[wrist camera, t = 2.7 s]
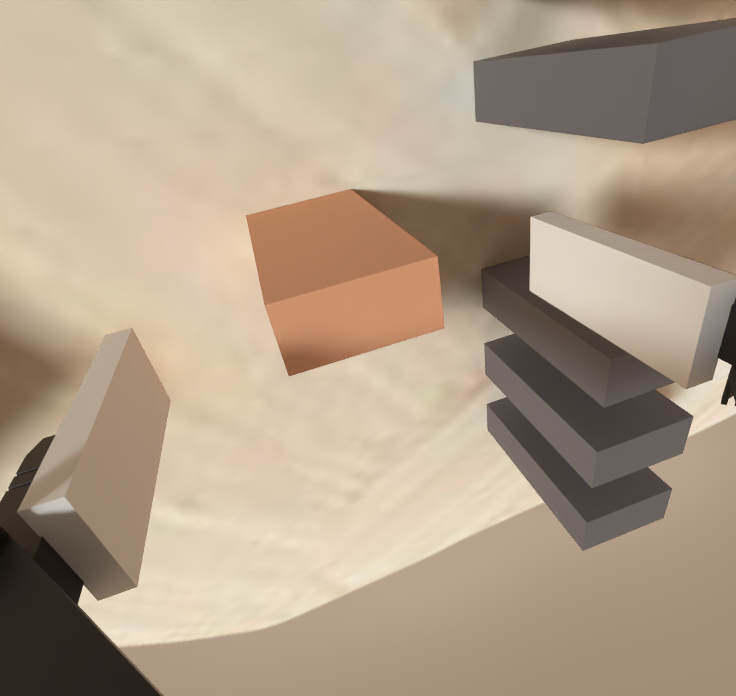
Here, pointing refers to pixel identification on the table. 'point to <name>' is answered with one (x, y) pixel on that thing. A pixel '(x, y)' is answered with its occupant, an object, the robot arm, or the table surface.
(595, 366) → the domino
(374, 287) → the domino
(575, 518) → the domino
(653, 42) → the domino
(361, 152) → the table surface
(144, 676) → the robot arm
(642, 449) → the domino
